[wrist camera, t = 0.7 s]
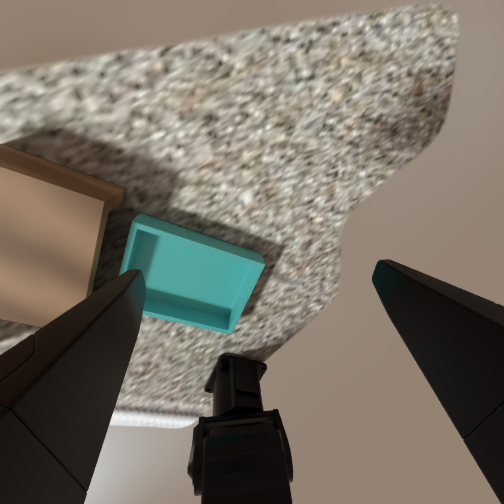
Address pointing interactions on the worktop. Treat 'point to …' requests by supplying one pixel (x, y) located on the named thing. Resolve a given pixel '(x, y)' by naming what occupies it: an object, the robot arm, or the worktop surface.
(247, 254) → the tray
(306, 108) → the worktop surface
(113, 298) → the robot arm
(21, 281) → the wooden drawer box
